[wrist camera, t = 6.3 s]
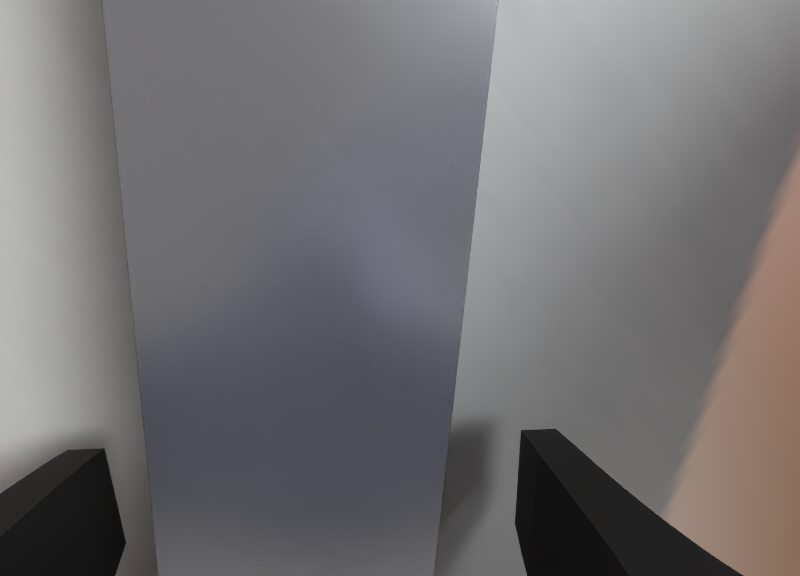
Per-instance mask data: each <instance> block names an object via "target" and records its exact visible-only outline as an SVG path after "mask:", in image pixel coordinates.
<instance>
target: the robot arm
mask: <svg viewBox="0 0 800 576" xmlns="http://www.w3.org/2000/svg"><path fill="white" fill-rule="evenodd" d="M515 525H516V530H517V534H518V539H519V543H520V548H521V552H522V556H523V561H524V565H525V569H526V573H527V576H743V575H741V574H740V573H738V572H737V571H735V570H734V569H732V568H731V567H729V566H727V565H726V564H724V563H723V562H721V561H720V560H718V559H717V558H715V557H714V556H712V555H711V554H710V553H708V552H707V551H705V550H703V549H702V548H701V547H699V546H698V545H697V544H695V543H694V542H693V541H691V540H690V539H689V538H687V537H686V536H684V535H683V534H682V533H680V532H679V531H678V530H676V529H675V528H674V527H672V526H671V525H670V524H668V523H667V522H666V521H664V520H663V519H662V518H660V517H659V516H658V515H657V514H655V513H654V512H653V511H651V510H650V509H649V508H648V507H646V506H645V505H644V504H643V503H641V502H640V501H639V500H638V499H636V498H635V497H634V496H633V495H632V494H630V493H629V492H628V491H627V490H626V489H624V488H623V487H622V486H621V485H620V484H618V483H617V482H616V481H615V480H614V479H612V478H611V477H610V476H609V475H608V474H607V473H605V472H604V471H603V470H602V469H601V468H600V467H599V466H597V465H596V464H595V463H594V462H593V461H592V460H591V459H589V458H588V457H587V456H586V455H585V454H584V453H583V452H582V451H580V450H579V449H578V448H577V447H576V446H575V445H574V444H572V443H571V442H570V441H569V440H568V439H567V438H566V437H564V436H563V435H562V434H561V433H560V432H559V431H557V430H556V429H543V430H521V441H520V456H519V471H518V487H517V502H516V517H515ZM125 544H126V541H125V537H124V532H123V528H122V524H121V519H120V515H119V510H118V506H117V502H116V497H115V493H114V488H113V484H112V480H111V475H110V471H109V466H108V462H107V458H106V453H105V449H104V448H103V449H80V450H67V451H66V452H64V453H62V454H60V455H59V456H57V457H55V458H54V459H52V460H50V461H49V462H47V463H46V464H44V465H43V466H41V467H40V468H38V469H36V470H35V471H33V472H32V473H30V474H29V475H27V476H26V477H24V478H23V479H22V480H20V481H19V482H17V483H16V484H14V485H13V486H11V487H10V488H8V489H7V490H5V491H4V492H2V493H1V494H0V576H115V574H116V571H117V568H118V565H119V562H120V559H121V556H122V553H123V550H124V547H125Z"/></svg>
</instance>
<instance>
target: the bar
mask: <svg viewBox="0 0 800 576" xmlns="http://www.w3.org/2000/svg"><path fill="white" fill-rule="evenodd" d="M102 7H103V17H104V27H105V37H106V48H107V58H108V68H109V78H110V88H111V99H112V109H113V119H114V129H115V139H116V150H117V160H118V170H119V180H120V190H121V201H122V211H123V221H124V231H125V242H126V252H127V262H128V272H129V282H130V293H131V303H132V313H133V323H134V333H135V344H136V354H137V364H138V374H139V384H140V395H141V405H142V415H143V425H144V435H145V446H146V456H147V466H148V476H149V487H150V497H151V507H152V517H153V527H154V538H155V548H156V558H157V568H158V576H434V569H435V560H436V551H437V543H438V534H439V525H440V516H441V507H442V498H443V489H444V480H445V471H446V462H447V454H448V445H449V436H450V427H451V418H452V409H453V400H454V391H455V382H456V374H457V365H458V356H459V347H460V338H461V329H462V320H463V311H464V302H465V293H466V285H467V276H468V267H469V258H470V249H471V240H472V231H473V222H474V213H475V205H476V196H477V187H478V178H479V169H480V160H481V151H482V142H483V133H484V125H485V116H486V107H487V98H488V89H489V80H490V71H491V62H492V53H493V44H494V36H495V27H496V18H497V9H498V0H102Z"/></svg>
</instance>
